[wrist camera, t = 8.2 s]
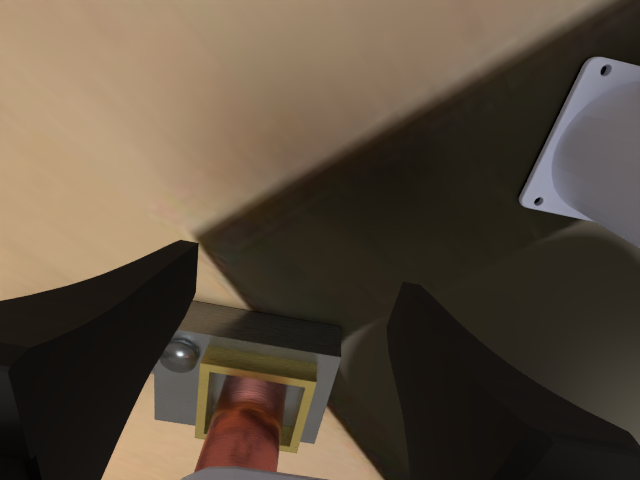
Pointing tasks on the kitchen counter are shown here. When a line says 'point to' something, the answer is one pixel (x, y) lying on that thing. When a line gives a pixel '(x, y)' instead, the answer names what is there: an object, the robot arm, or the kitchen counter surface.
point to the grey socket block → (247, 367)
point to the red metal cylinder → (245, 425)
